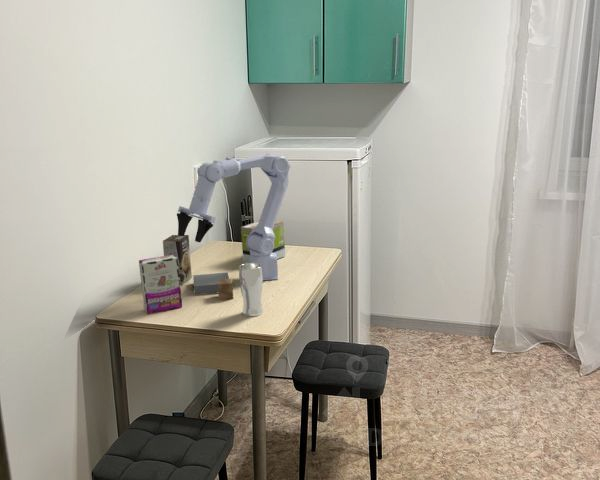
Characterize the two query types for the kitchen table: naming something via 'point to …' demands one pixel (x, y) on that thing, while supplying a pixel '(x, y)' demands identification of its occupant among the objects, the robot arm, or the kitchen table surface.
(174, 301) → the candy bar box
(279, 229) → the tea box
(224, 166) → the robot arm
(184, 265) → the coffee box
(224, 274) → the slate base
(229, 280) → the walnut block
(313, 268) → the kitchen table surface
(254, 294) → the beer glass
